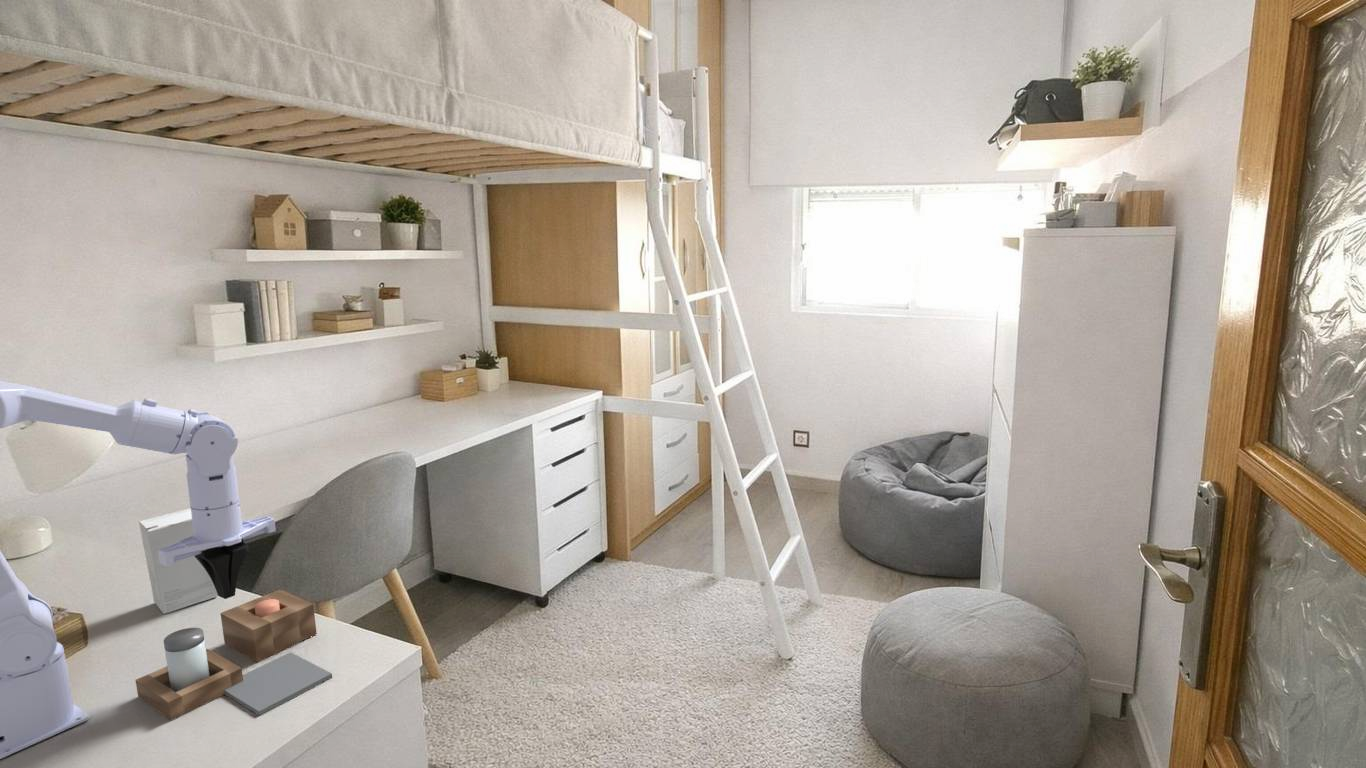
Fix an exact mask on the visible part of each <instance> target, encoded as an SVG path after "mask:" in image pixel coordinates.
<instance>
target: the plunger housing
mask: <svg viewBox="0 0 1366 768" xmlns="http://www.w3.org/2000/svg"><path fill="white" fill-rule="evenodd" d="M269 599H276V600H278V601H279V606H280V610H279V611H276V612H274V613H272V614H269V615H267V616H264V617H262V618H261V617H259V616H257V615H256V614H255V605H256V604H257V603H259V602H261V601H264V600H269ZM219 615H220V619H221V620H220V621H221V627H222V629H221V630H222V634H223V635H222V636H223V641H224V645H225V646H227V647H229V648H231V649H233V650H234V651H236V652H238V653H240V654H242V655H244V656H245V657H247V658H249V659H250V660H253V661H254V662H257V663H258V662H261V661H263V660H265V659H267V658H269V657H271V656H273V655H276V654H278V653H280V652H282V651H284V650H286V649H288V648H291V647H293V646H295V645H297V644H299V643H301V642H300V641H302V640H304V639H306V640H308V639H310V638H312V637H314V636H316V635H315V634H317V625H316V616H315V615H316V614H315V607H314V603H312V602H310V601H308V600H305V599H303V598H300V597H298V596H296V595H294V594H291V593H290V592H287V591H285V590H282V589H278V590H275V591H273V592H272V591H271V592H270V593H267V594H265V595H262V596H260V597H257V598H255V599H252V600H250V601H248V602H245V603H242V604H239V605H237V606H235V607H232V608H229V609H227V610H225V611H222V612H220V613H219ZM313 635H314V636H313ZM311 636H312V637H311ZM309 637H310V638H309ZM307 638H308V639H307ZM304 641H305V640H304ZM298 642H299V643H298ZM302 642H303V641H302ZM294 644H295V645H294Z"/></svg>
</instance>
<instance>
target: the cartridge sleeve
mask: <svg viewBox="0 0 1366 768" xmlns="http://www.w3.org/2000/svg"><path fill="white" fill-rule="evenodd" d="M206 654H207V661H208V668H209V675H210V677H208V678H206V679H204V680H201V681H199V682H197V683H195V684H193V685H191V686H188V687H186V688H184V689H182V690H180V691H177V692H174V691H173V690H171V686H170V680H169V673H168V667H167V665H166V666H165V667H163V668H159V669H158V670H155V671H152V672H150V673H148V674H145V675H143V676H142V677H141V676H140V677H139V678H137V679H135V686H136V691H137V692H136V693H137V697H138V698H139V699H141V700H142V701H143V702H145V703H146V704H148V705H149V706H151V707H152V708H153V709H154V710H156V711H157V712H159V713H160V714H162V715H163V716H165V717H166V718H168V719H169V720H170V721H173V720H174V719H176V718H179V717H180V716H183V715H184V714H186V713H188V712H191V711H193V710H195V709H197V708H199V707H202V706H203V705H205V704H207V703H209V702H212V701H213V700H215V699H218V698H219V697H221V696H224V695H225V693H224V690H225V689H227V688H229V687H231V686H234V685H236V684H238V683H240V682H242V681H243V675H244V674H243V669H242V667H241V666H239V665H237V664H235V663H234V662H231V661H230V660H229V659H227V658H224V657H223V656H222V655H219V654H217V653H216V652H214V651H212V650H211V649H208V648H206Z"/></svg>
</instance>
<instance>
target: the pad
mask: <svg viewBox="0 0 1366 768" xmlns="http://www.w3.org/2000/svg"><path fill="white" fill-rule="evenodd" d="M331 677H332V678H333V673H332V672H330V671H328V670H326V669H324V668H323V667H320V666H318V665H316V664H314V663H312V662H310V661H309V660H307V659H304V658H303V657H301V656H299V655H297V654H295V653H293V652H292V651H291V652H290V651H289V652H288V653H286V654H284V655H282V656H280V657H278V658H275V659H274V660H272V661H269V662H267V663H265V664H263V665H261V666H258V667H256V668H254V669H252V670H250V671H248V672H246V673H244V674H243V681H242V682H240V683H238V684H236V685H234V686H231V687H229V688H227V689H225V690H224V693H225V694H224V695H225V696H227V697H229V698H231V699H232V700H234V701H235V702H237V703H238V704H240V705H242V706H243V707H245V708H246V709H248V710H250V711H252V712H254V714H256V715H258V716H262V715H263V714H265V713H268V712H269V711H272V710H273V709H275V708H276V707H278V706H280V705H283V704H285V703H286V702H288V701H290V700H292V699H294V698H296V697H298V696H300V695H301V694H303V693H305V692H307V691H309V690H311V689H313V688H315V687H317V686H318V685H321V684H323V683H324V682H326V681H328V680H330V679H331ZM329 678H330V679H329ZM327 679H328V680H327ZM323 681H324V682H323ZM322 682H323V683H322ZM320 683H321V684H320Z"/></svg>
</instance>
